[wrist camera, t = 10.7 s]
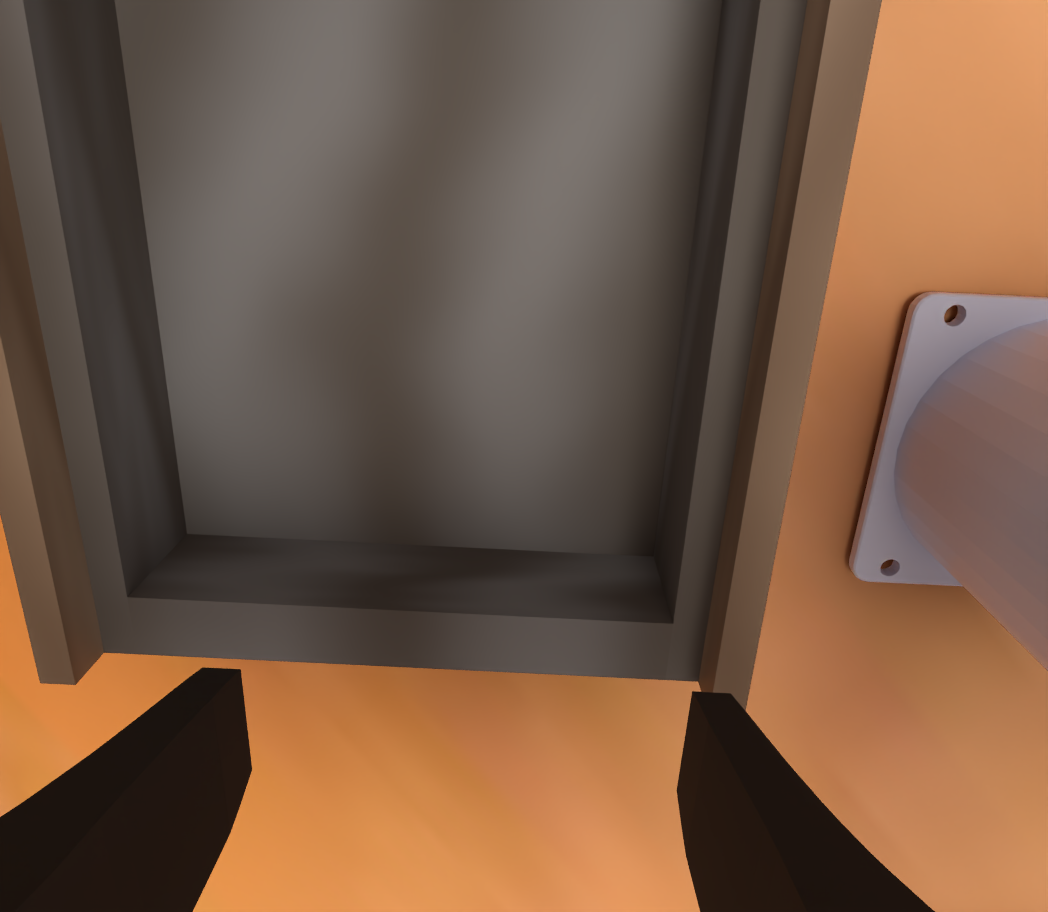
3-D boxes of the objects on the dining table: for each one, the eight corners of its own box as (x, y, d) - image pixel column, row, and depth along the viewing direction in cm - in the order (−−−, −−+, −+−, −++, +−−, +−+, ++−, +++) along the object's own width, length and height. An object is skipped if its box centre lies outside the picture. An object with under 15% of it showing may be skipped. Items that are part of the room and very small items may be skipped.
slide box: (814, -169, 15) (943, -323, 10) (698, 594, 22) (744, 717, 17) (28, -207, 15) (-211, -380, 10) (150, 567, 22) (40, 682, 17)
